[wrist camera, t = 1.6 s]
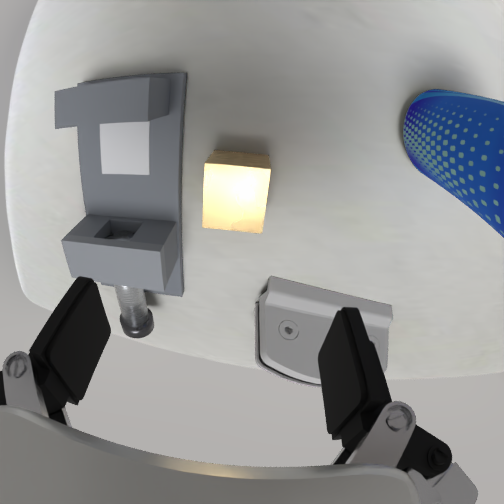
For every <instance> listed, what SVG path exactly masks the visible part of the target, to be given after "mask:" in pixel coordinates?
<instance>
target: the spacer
mask: <svg viewBox="0 0 504 504" xmlns="http://www.w3.org/2000/svg"><path fill="white" fill-rule="evenodd" d="M270 172H271V167H270V160H269V155H263V154H254V153H244V152H233V151H221V150H214V151H213V153H212V154H211V155H210V157H209V158H208V159H207V161H206V162H205V169H204V191H203V223H202V228H213V229H223V230H233V231H243V232H252V233H262V230H263V222H264V215H265V208H266V201H267V194H268V187H269V179H270Z"/></svg>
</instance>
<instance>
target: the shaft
mask: <svg viewBox="0 0 504 504" xmlns="http://www.w3.org/2000/svg"><path fill="white" fill-rule="evenodd" d="M134 234H135V233H134V232H131V231H127V230H122V231H117V232H114V233H111V234H110V235H108V236H107V237H106V239H113V240H122V241H130V240H131V238H132V237H133V236H134ZM114 287H115V291H116V295H117V299H118V302H119V306H120V310H121V315H120V322H121V325H122V329H123V331H124V333H125V334H126V335H127V336H129V337H132V338H142V337H145V336H147V335H149V334H150V333H151V332H152V330H153V328H154V321H153V316H152V312H151V311H150V309H148V308H147V303H146V298H145V292H144V289H140V288H133V287H127V286H120V285H114Z"/></svg>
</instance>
